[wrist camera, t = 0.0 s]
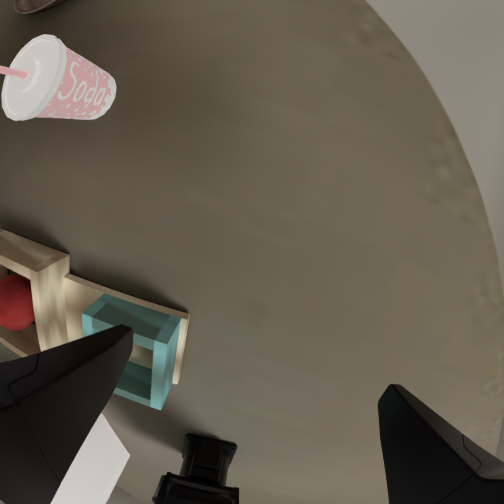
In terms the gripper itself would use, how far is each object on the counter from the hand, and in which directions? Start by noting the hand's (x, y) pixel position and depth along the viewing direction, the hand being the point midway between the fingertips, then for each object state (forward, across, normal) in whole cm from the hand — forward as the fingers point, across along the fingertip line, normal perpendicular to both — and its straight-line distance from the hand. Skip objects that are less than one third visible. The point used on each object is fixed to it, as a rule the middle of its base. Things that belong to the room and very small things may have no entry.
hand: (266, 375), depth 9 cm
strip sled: (+14, +17, +11) cm, 25 cm away
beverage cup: (+15, +18, -10) cm, 25 cm away
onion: (+15, +24, +11) cm, 30 cm away
